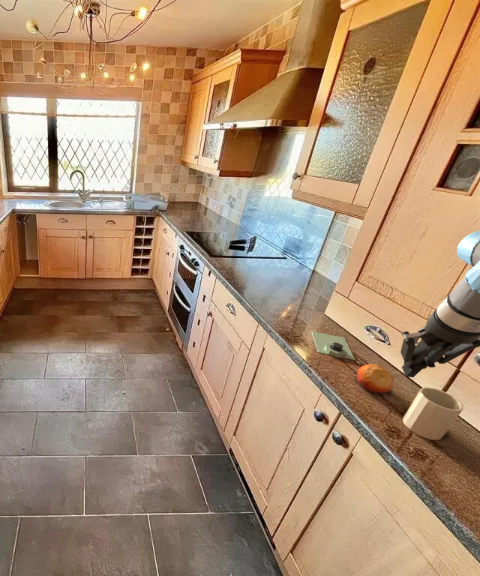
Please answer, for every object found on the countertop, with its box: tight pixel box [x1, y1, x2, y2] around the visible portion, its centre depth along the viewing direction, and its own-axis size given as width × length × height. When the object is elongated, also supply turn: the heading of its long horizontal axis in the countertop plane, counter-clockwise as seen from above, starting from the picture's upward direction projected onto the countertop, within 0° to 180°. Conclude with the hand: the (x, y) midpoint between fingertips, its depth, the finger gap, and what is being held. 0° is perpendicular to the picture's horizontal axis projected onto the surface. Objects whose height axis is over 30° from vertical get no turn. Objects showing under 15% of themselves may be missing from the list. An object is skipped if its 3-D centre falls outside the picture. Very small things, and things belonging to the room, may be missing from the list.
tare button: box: [331, 343, 343, 352], centre depth 101 cm, size 3×3×2 cm
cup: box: [402, 386, 464, 441], centre depth 75 cm, size 7×7×10 cm
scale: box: [311, 331, 356, 361], centre depth 105 cm, size 10×14×3 cm
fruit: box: [354, 363, 395, 394], centre depth 89 cm, size 8×8×8 cm
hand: (407, 372), depth 78 cm, fingers closed
